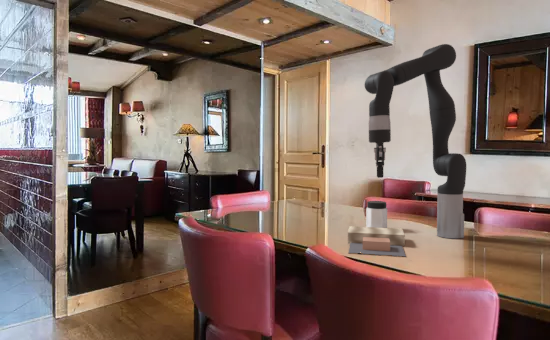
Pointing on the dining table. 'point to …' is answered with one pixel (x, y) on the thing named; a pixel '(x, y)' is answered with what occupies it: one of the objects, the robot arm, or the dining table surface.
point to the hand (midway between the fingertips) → (380, 177)
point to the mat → (394, 250)
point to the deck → (376, 234)
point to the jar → (376, 214)
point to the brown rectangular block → (376, 244)
